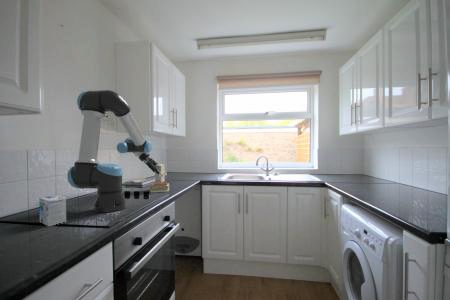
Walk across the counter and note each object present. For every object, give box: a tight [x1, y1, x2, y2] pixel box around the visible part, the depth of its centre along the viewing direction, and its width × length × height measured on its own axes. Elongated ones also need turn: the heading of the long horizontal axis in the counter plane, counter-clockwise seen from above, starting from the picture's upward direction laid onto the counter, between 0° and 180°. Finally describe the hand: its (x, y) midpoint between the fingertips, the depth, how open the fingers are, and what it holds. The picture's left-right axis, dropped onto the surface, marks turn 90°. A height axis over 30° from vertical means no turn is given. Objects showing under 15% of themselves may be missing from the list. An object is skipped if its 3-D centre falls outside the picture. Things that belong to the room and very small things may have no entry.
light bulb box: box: [38, 194, 67, 227], centre depth 101 cm, size 11×7×11 cm, turn 55°
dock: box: [149, 182, 170, 194], centre depth 170 cm, size 12×12×4 cm
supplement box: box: [154, 163, 166, 184], centre depth 171 cm, size 8×5×13 cm, turn 178°
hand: (164, 176), depth 171 cm, fingers closed on supplement box, 8 cm apart
